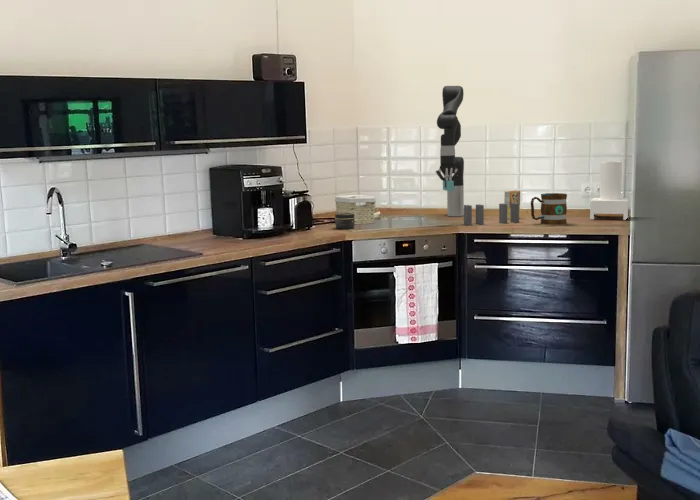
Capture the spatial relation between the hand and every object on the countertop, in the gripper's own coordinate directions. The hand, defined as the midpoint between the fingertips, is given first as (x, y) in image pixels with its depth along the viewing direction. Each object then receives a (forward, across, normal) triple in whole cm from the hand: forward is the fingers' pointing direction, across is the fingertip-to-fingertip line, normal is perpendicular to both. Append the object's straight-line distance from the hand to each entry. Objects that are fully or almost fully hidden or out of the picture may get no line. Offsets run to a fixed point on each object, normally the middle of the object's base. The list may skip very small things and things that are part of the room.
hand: (447, 188), depth 409 cm
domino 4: (+19, -37, 0) cm, 41 cm away
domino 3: (+19, -30, 0) cm, 36 cm away
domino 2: (+19, -17, 0) cm, 26 cm away
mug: (+19, -50, +12) cm, 55 cm away
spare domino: (-2, 0, +5) cm, 6 cm away
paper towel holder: (+19, -92, 0) cm, 94 cm away
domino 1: (+19, -11, 0) cm, 22 cm away
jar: (+19, +52, -9) cm, 56 cm away
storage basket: (+19, +41, -34) cm, 57 cm away
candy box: (+19, -43, -17) cm, 50 cm away
